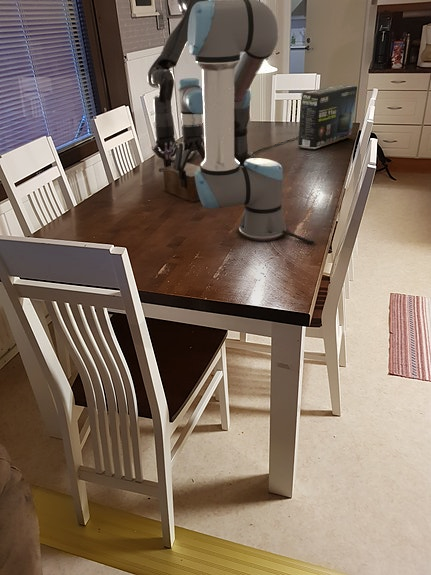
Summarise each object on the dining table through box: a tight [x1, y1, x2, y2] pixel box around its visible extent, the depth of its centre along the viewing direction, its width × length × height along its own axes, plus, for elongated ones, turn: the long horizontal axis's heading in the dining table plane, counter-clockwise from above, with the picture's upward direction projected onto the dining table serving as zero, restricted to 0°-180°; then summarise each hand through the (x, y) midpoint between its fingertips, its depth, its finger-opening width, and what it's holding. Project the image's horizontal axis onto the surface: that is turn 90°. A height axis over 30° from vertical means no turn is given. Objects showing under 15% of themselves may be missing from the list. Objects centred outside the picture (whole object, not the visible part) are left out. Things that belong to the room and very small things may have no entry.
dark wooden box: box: [163, 162, 200, 203], centre depth 182 cm, size 18×10×10 cm, turn 40°
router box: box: [297, 84, 358, 151], centre depth 238 cm, size 36×11×27 cm, turn 134°
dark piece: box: [158, 167, 166, 189], centre depth 185 cm, size 22×9×8 cm, turn 40°
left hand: (167, 167), depth 189 cm, fingers closed
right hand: (195, 183), depth 179 cm, fingers closed on dark wooden box, 10 cm apart
